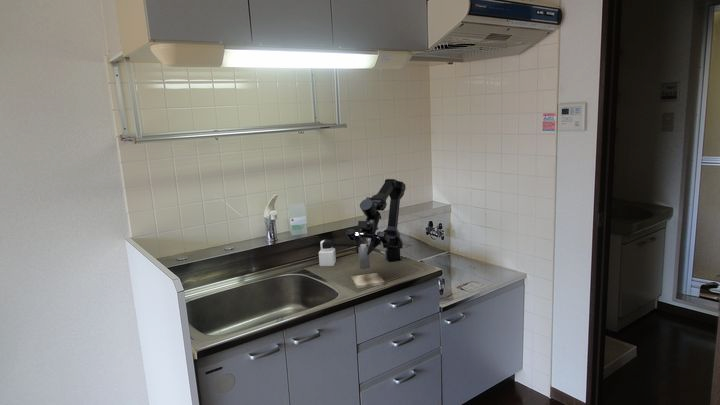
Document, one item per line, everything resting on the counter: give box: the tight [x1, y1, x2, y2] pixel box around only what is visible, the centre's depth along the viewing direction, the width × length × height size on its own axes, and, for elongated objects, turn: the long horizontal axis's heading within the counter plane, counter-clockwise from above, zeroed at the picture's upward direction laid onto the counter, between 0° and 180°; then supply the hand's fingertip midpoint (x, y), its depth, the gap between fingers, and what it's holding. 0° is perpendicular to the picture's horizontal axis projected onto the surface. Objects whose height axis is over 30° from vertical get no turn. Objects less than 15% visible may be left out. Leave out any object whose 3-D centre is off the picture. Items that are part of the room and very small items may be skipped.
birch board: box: [350, 272, 386, 289], centre depth 203 cm, size 12×12×1 cm
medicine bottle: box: [318, 239, 337, 267], centre depth 229 cm, size 7×7×12 cm
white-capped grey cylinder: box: [358, 243, 371, 270], centre depth 200 cm, size 5×5×10 cm
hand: (362, 253), depth 199 cm, fingers closed on white-capped grey cylinder, 5 cm apart
